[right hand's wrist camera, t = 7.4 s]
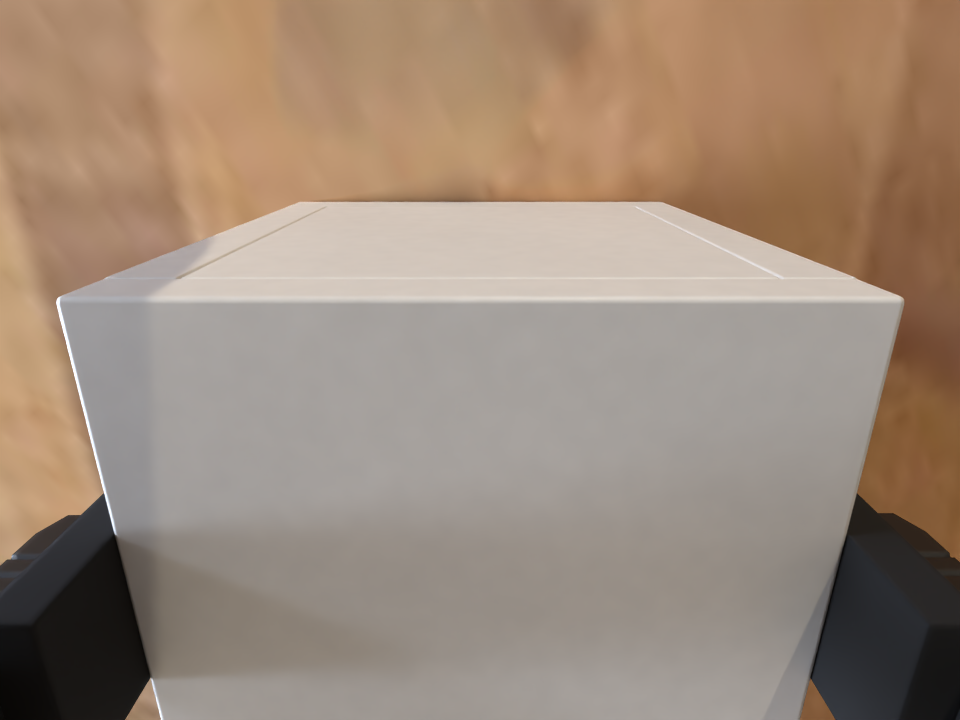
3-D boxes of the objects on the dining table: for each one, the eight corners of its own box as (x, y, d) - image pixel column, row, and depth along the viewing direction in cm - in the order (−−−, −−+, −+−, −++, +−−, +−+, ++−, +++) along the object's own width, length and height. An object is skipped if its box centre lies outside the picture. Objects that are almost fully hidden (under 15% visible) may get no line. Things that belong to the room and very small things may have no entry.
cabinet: (607, 747, 25) (691, 1158, 15) (354, 747, 25) (269, 1157, 15) (662, 201, 17) (909, 297, 7) (298, 202, 17) (51, 297, 7)
